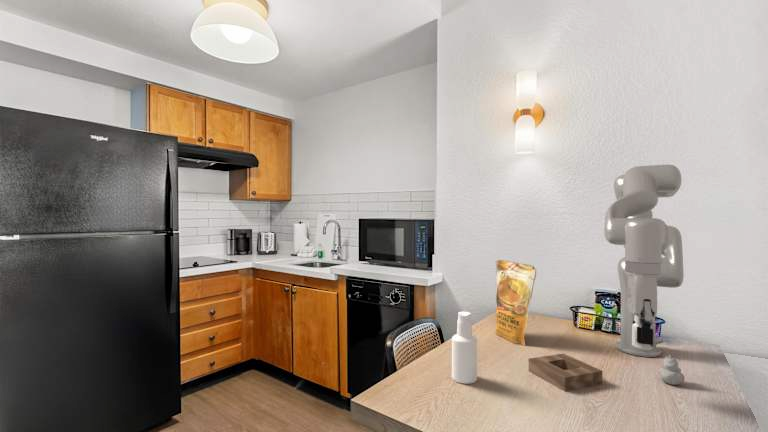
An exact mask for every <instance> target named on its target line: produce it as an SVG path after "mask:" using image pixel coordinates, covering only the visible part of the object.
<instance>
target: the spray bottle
mask: <svg viewBox="0 0 768 432" xmlns="http://www.w3.org/2000/svg"><path fill="white" fill-rule="evenodd" d="M457 317H458V318H457V322H456V324H457V325H456V334H454V335H452V337H451V378H452V380H453V381H454V382H456V383H460V384H464V385H465V384H466V385H467V384H474V383H476V381H477V380H478V338H477V337H476V336H474V335H473V326H472V322H473V321H472V313H471V312H469V311H458V313H457Z"/></svg>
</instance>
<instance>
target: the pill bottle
mask: <svg viewBox="0 0 768 432" xmlns="http://www.w3.org/2000/svg"><path fill="white" fill-rule="evenodd" d="M641 318H642V319H644V318H643V317H641ZM634 320H635V323H634V324H633V325H632V345H633V346H634V347H636V348H639V349H644V350H651V349H653V345H648V344H640V343H638V342H637V327H639V326H638V315H635V316H634Z"/></svg>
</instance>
